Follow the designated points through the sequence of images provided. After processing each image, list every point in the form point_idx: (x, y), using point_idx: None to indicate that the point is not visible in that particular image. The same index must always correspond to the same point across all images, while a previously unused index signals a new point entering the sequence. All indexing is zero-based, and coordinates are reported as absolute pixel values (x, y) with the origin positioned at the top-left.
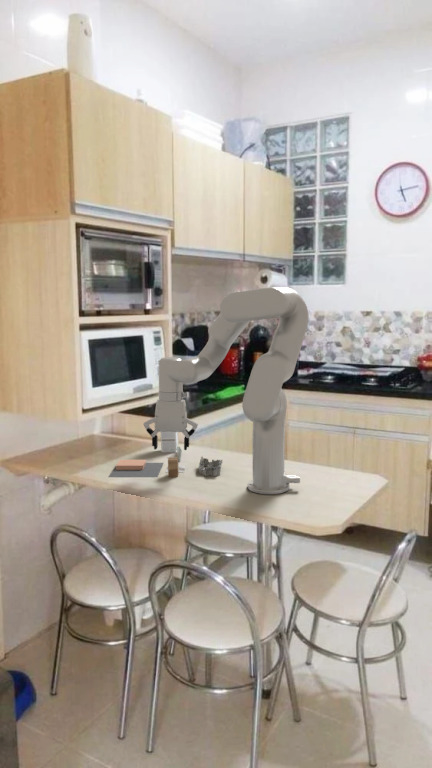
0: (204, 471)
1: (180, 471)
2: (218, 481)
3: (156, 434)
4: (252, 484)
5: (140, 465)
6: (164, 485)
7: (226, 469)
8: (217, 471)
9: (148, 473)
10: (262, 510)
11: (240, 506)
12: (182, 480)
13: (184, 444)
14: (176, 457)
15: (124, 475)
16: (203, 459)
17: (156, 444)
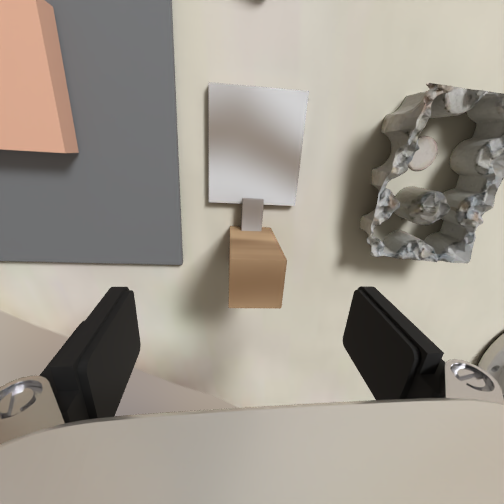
0: (387, 251)
1: (280, 195)
2: (411, 302)
3: (71, 418)
4: (501, 370)
5: (49, 150)
6: (222, 337)
7: None
8: (440, 242)
9: (128, 215)
10: None
11: None
12: (285, 290)
13: (363, 374)
14: (276, 260)
15: (17, 239)
16: (428, 112)
17: (128, 368)
